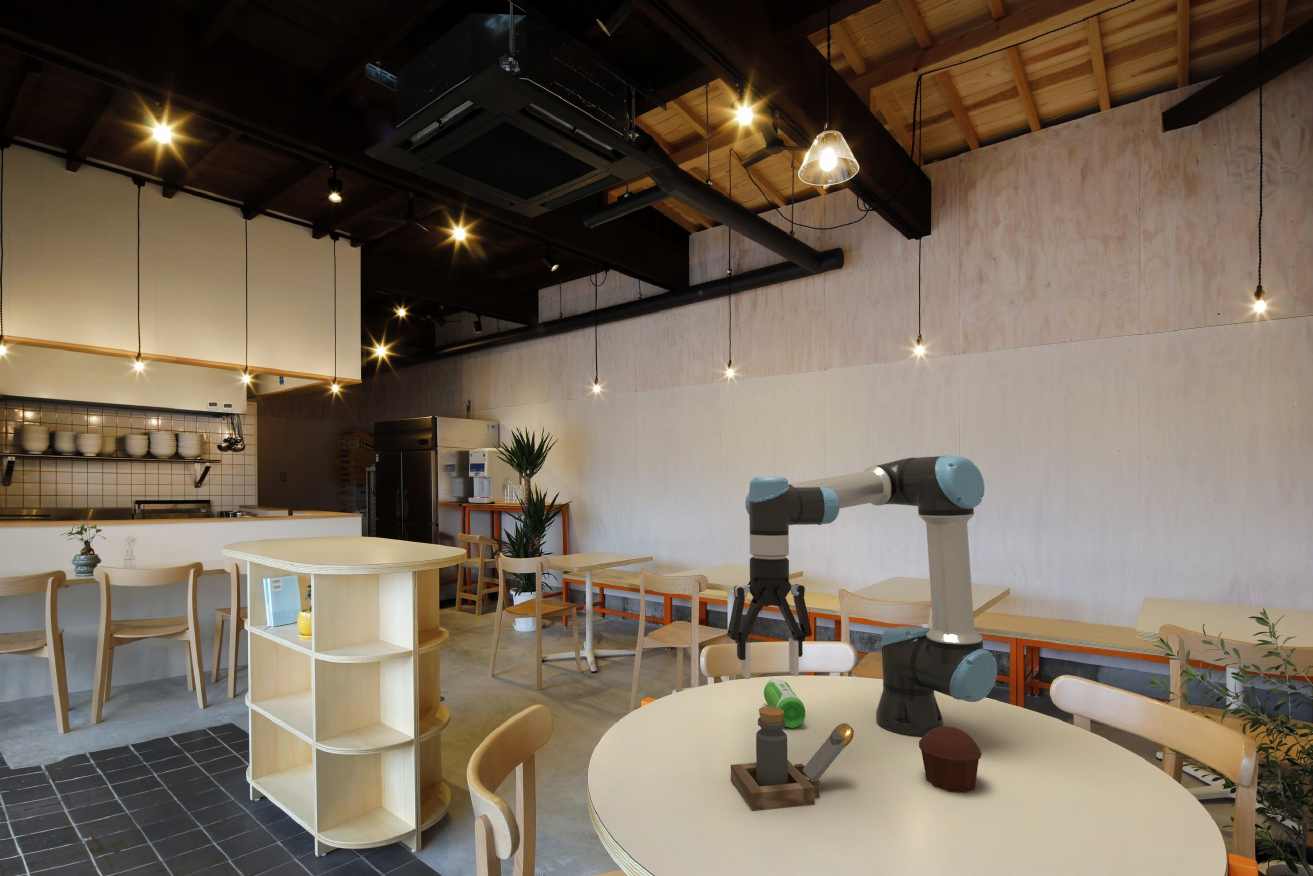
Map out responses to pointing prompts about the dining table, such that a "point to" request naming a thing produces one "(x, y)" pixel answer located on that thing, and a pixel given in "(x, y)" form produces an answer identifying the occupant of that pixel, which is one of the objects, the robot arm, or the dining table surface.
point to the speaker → (785, 702)
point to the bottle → (771, 748)
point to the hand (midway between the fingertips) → (770, 675)
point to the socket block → (774, 788)
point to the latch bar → (828, 751)
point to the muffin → (950, 759)
